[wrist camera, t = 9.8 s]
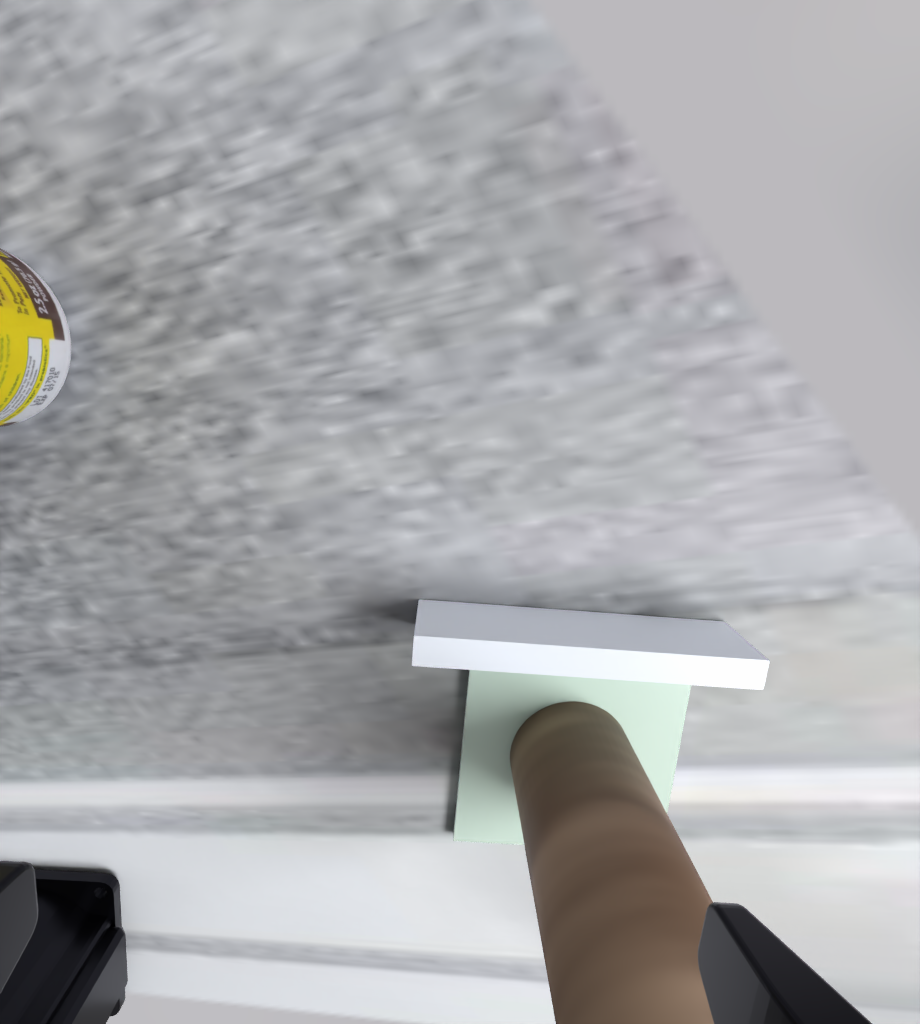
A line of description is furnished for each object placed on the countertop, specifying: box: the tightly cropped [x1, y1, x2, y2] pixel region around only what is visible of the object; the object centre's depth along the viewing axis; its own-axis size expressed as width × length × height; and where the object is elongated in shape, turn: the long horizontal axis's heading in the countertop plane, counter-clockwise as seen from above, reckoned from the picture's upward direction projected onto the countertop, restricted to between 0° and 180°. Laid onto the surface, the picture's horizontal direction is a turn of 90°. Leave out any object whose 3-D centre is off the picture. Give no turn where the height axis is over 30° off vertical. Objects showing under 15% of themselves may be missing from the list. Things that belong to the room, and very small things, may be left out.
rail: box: [412, 599, 770, 690], centre depth 20 cm, size 11×1×3 cm, turn 85°
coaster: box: [453, 670, 691, 845], centre depth 22 cm, size 8×8×1 cm
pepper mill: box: [510, 701, 714, 1024], centre depth 15 cm, size 4×4×13 cm
